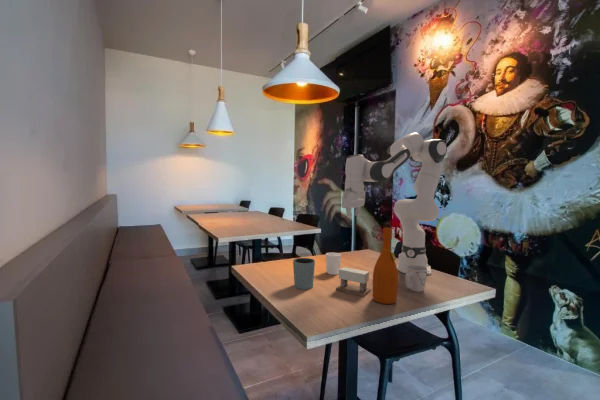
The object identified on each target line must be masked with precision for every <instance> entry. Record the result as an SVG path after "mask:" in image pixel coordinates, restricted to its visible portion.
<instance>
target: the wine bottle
mask: <svg viewBox="0 0 600 400" xmlns="http://www.w3.org/2000/svg"><path fill="white" fill-rule="evenodd" d="M392 231H393V230H392V228H391V227H386V226H385V227H383V229H382V239H383V242H382V248H381V251H380V254H379V256H378V258H377V259H376V262H375V264H374V268H373V273H372V298H373V300H374V301H375V302H376V303H379V304H383V305H384V304H385V305H391V304H395V303H396V302H397V299H398V289H399V270H397V266H398V265H397V264H396V255H395V252H394V251H392V249H391V240H392V239H393V238H392V237H393V236H392Z"/></svg>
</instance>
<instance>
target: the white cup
mask: <svg viewBox="0 0 600 400" xmlns="http://www.w3.org/2000/svg"><path fill="white" fill-rule="evenodd" d="M341 261H342V254H341V253H340V252H334V251H333V252H326V253H325V268H326V274H328V275H332V276H334V275H335V276H336V275H339V269H341Z"/></svg>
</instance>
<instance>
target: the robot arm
mask: <svg viewBox="0 0 600 400" xmlns="http://www.w3.org/2000/svg"><path fill="white" fill-rule="evenodd" d="M447 151H448V146H447V144H446V142H445V140H443V139H440V138H439V139H438V138H435V139H427V140H424V138H423V137H422V135H421V134H419V133H417V132H411V133H407V134H406V135H404V136H402V137H400V138H398V139H397V140H396V141H395V142H393V143H392V144H391V145H390V148H389V154H390V157H389V158H388V159H386V160H380V161H370V160H368V159H367V158H365V156H364V155H363V154H361V153H360V154H358V153H357V154H353V155H349V156H348V157H347V158H346V159H345V160H346V161H345V168H344V169H345V180H344V190H343V191H344V192H343V193H342V197H341V208H342V209H345V212H346V218H352V217H353V216H352V215H353V214H352V209H353V208H355V211H354V217H355V216H356V217H358V216H360V210H361V207H364V206H365V203H366V192H367V186H366V185H364V182H371V183H372V182H373V183H386V182H388V181H389V180H390V179H391V178H392V177H393V174H394V173H395V172H396V171H397V170H398V169H400V167H402V166H403V165H404V164H405V163H406V162H407V161H408V160H410V161H411V162H415V163H421V168H420V170H419V172H418V174H417V177H416V179H415V182H414V184H413V190H414V192H415V193H416V198H415V199H410V198H403V199H399V200H396V202H395V203H394V205H393V212H394V214H395V216H397V218H398V219H399V221H400V223H401V228H402V245H401V253H399V254H398V258H397V259H398V261H397V265H396V266H397V270H398V272H401V273H403V274H405V275H406V274H407V266H409V265H418V266H423V267H426V268H427V275H429V276H431V275H432V268H431V267H432V266H431V265H429V264H428V258H427V254H426V251H427V249H426V244H425V243H426V232H425V229H423V228H422V226H420V223H419V222H423V223H424V222H426V223H427V222H433V221H435V220H436V219H437V218H438V217H439V214H440V208H439V206H438V205H437V204H436V201H435V192H436V190H437V186H438V184H439V182H440V179H441V175H442V170H443V163H442V161H443V160H444V159H445V157H446V154H447Z"/></svg>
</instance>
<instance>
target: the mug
mask: <svg viewBox="0 0 600 400" xmlns="http://www.w3.org/2000/svg"><path fill="white" fill-rule="evenodd" d="M404 278H405V279H404V280H405V281H404V282H405V287H406V288H408V289H409V290H410V291H412V292H417V293H421V292H423V291H424V290H425V286H426V282H427V268H426V267H423V266H418V265H409V266H407V274H406V273H405V275H404Z"/></svg>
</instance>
